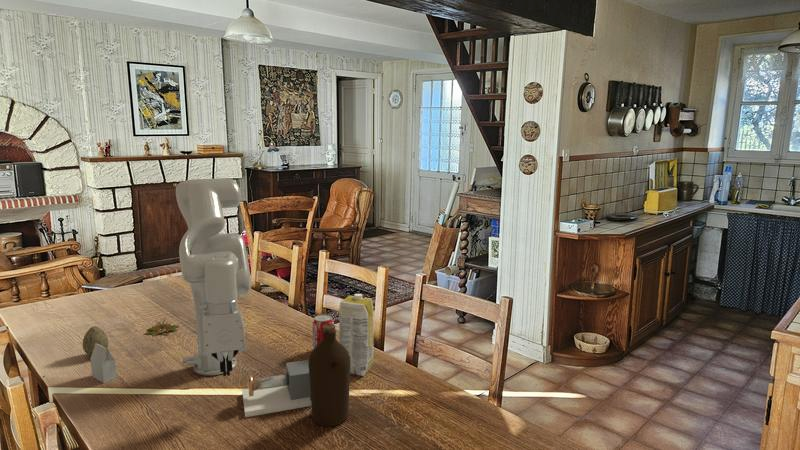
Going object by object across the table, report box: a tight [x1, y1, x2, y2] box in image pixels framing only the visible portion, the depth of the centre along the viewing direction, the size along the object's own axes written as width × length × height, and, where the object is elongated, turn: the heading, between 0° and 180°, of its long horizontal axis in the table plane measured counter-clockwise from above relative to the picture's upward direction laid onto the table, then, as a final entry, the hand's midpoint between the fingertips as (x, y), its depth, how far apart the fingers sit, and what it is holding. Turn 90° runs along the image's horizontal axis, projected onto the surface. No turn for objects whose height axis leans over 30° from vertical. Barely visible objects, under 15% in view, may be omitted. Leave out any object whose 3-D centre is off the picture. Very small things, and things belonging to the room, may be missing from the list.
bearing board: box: [242, 359, 312, 418], centre depth 143 cm, size 27×12×9 cm, turn 110°
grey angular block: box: [90, 343, 118, 384], centre depth 153 cm, size 4×7×10 cm, turn 55°
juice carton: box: [338, 293, 374, 377], centre depth 158 cm, size 9×8×24 cm
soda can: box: [312, 313, 335, 350], centre depth 171 cm, size 7×7×12 cm
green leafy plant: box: [144, 317, 179, 337], centre depth 188 cm, size 12×12×5 cm
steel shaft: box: [247, 374, 289, 397], centre depth 141 cm, size 14×6×6 cm, turn 110°
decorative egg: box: [82, 326, 109, 357], centre depth 167 cm, size 7×7×10 cm
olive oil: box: [308, 324, 351, 427], centre depth 132 cm, size 11×11×25 cm
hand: (226, 373), depth 136 cm, fingers closed
